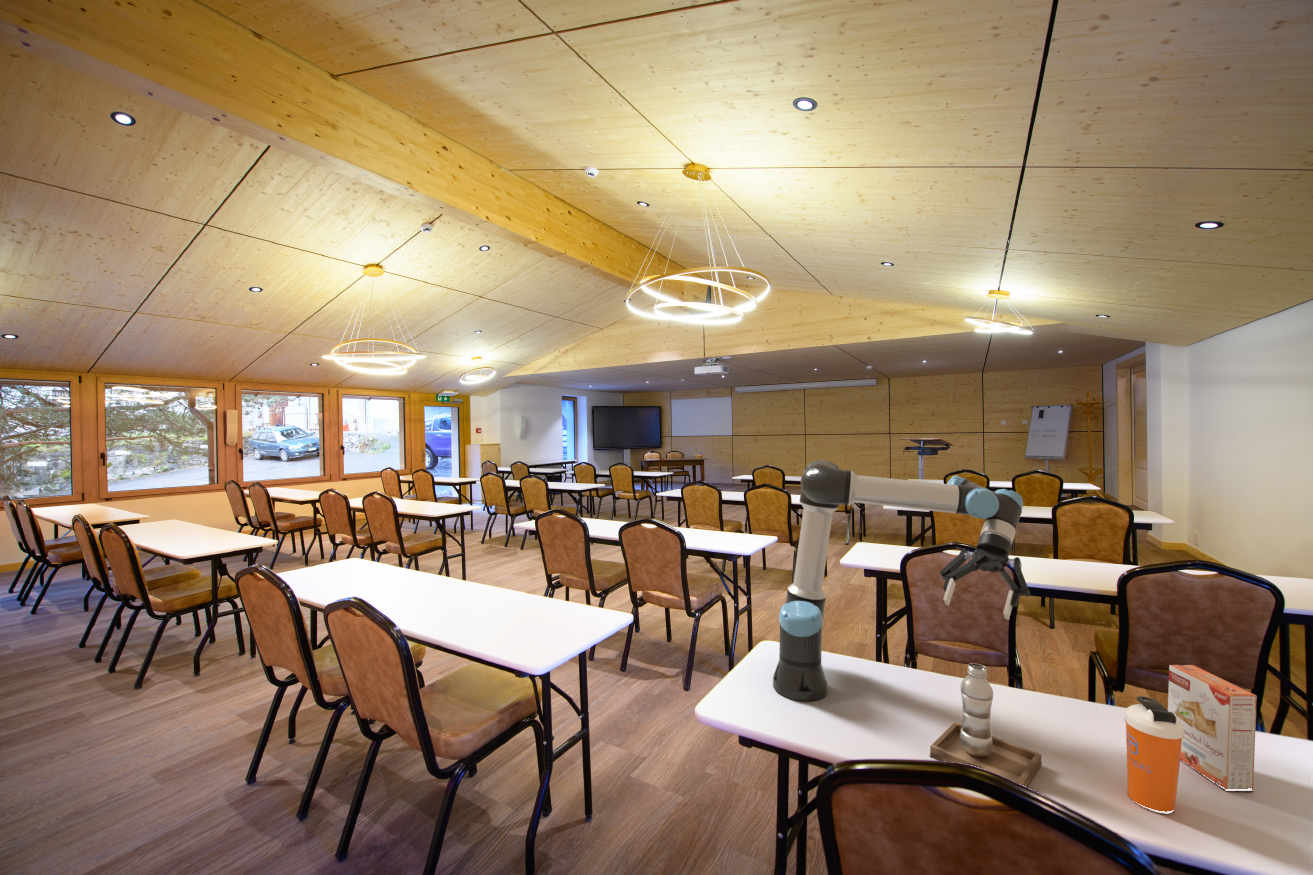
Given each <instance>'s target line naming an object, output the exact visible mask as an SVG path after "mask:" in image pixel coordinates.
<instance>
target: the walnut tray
mask: <svg viewBox="0 0 1313 875" xmlns="http://www.w3.org/2000/svg"><path fill="white" fill-rule="evenodd" d="M961 728H962V723H960V722H956V721H954V722H953V723H952V724H951V725H950V726H949V727H948V728H947V729H946V730H944V732H942V733H941V735H940V736H939V737H937V739H936V740H935V741H934V742H933V743H932V744H930V746H929V747H930V749H929V751H930V752H929V757H930V758H932V759H934V760H936V761H939V762H941V761H946V762H954V763H962V764H967V765H973V766H976V767H979V768H982V769H986V770H987V771H990V772H992V773H995V774H998V775H1000V776H1003V777H1005V778H1007V779H1010V780H1012V781H1014V782H1016V783H1018V784H1021V785H1024V786H1026V787H1028V788H1029V787H1030V785H1031V783H1032V781H1033V780H1034V778H1035V777H1036V775H1037V773H1038V772H1039V770H1040V769H1041V767H1042V754H1041V753H1038V752H1035V751H1033V750H1030V749H1028V748H1024V747H1023V746H1019V745H1017V744H1014V743H1011V742H1009V741H1007V740H1004V739H1001V738H999V737H996V736H993V735H991V737H992V742H993V749H992V753H991V754H990V755H989V756H988V757H977V756H973V755H971V754H969V753H967V752H966V751H965V750H964V749H963V747H962V746H961V743H960V731H961Z"/></svg>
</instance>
